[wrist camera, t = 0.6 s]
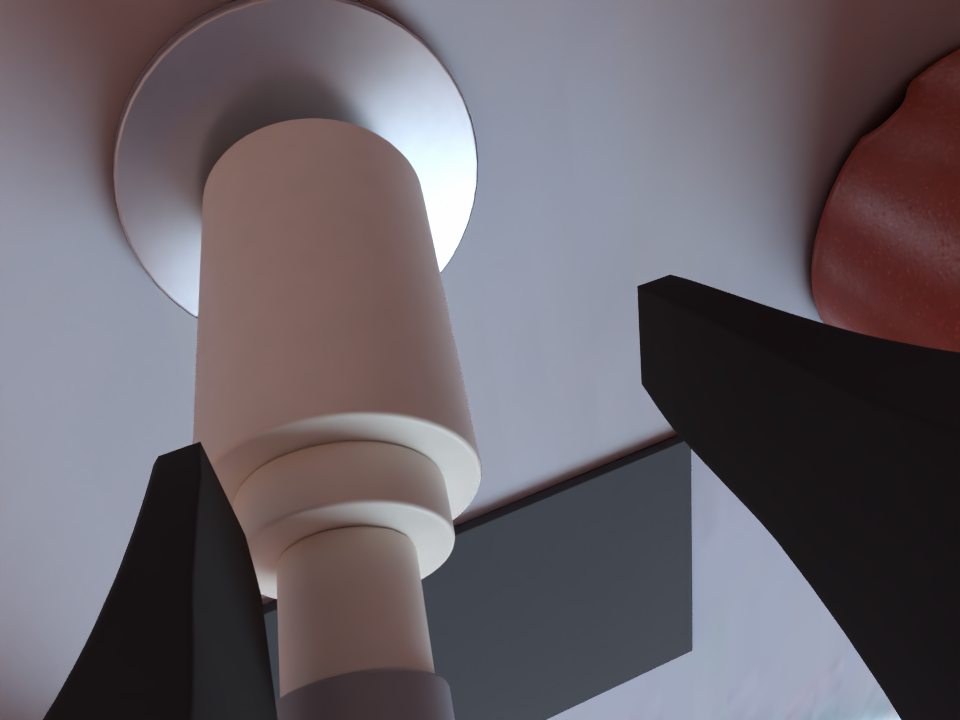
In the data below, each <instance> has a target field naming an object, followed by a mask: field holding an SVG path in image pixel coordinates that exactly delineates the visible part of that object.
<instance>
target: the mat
mask: <svg viewBox="0 0 960 720" xmlns="http://www.w3.org/2000/svg"><path fill="white" fill-rule="evenodd" d="M454 532H455V542H454V546H453V549H452V552H451V554H450V555H449V557H448V558H447V560H446V561H445V562H444V563H443V564H442V565H441V566H440V567H439V568H438V569H436V570H435V571H434V572H433V573H431V574H430V575H428V576H426V577H425V578H423V579H421V583H422V590H423V597H424V603H425V610H426V617H427V624H428V631H429V637H430V644H431V651H432V658H433V665H434V672H435V674H437V675H439V676H441V677H443V678H444V679H445V680H446V681H447V683H448V685H449V686H450V692H451V698H452V705H453V711H454V718H455V720H546V719H548V718H551V717H553V716H555V715H557V714H559V713H561V712H563V711H565V710H567V709H570V708H572V707H574V706H576V705H578V704H580V703H582V702H584V701H586V700H589V699H591V698H593V697H595V696H597V695H599V694H601V693H603V692H605V691H608V690H610V689H612V688H614V687H616V686H618V685H620V684H622V683H624V682H627V681H629V680H631V679H633V678H635V677H637V676H639V675H641V674H643V673H646V672H648V671H650V670H652V669H654V668H656V667H658V666H660V665H663V664H665V663H667V662H669V661H671V660H673V659H675V658H677V657H679V656H682V655H684V654H686V653H688V652H690V651H692V531H691V448H690V447H689V446H688V444H687V443H686V442H685V441H684V440H683V439H682V438H681V437H680V436H679V435H678V436H676V437H673V438H671V439H668V440H666V441H663V442H661V443H658V444H656V445H654V446H651V447H649V448H646V449H644V450H641V451H639V452H637V453H634V454H632V455H629V456H627V457H624V458H622V459H619V460H617V461H615V462H612V463H610V464H607V465H605V466H602V467H600V468H598V469H595V470H593V471H590V472H588V473H585V474H583V475H580V476H578V477H576V478H573V479H571V480H568V481H566V482H563V483H561V484H559V485H556V486H554V487H551V488H549V489H546V490H544V491H541V492H539V493H537V494H534V495H532V496H529V497H527V498H524V499H522V500H520V501H517V502H515V503H512V504H510V505H507V506H505V507H502V508H500V509H498V510H495V511H493V512H490V513H488V514H485V515H483V516H481V517H478V518H476V519H473V520H471V521H468V522H466V523H463V524H461V525H459V526H456V527H454ZM263 612H264V619H265V627H266V634H267V641H268V649H269V657H270V664H271V672H272V680H273V687H274V695H275V702H276V701H277V700H278V699H279V698H280V677H279V645H278V613H277V600H276V601H273V602H271V603H268V604H266V605H264V606H263Z"/></svg>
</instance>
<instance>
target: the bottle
mask: <svg viewBox="0 0 960 720" xmlns="http://www.w3.org/2000/svg"><path fill="white" fill-rule="evenodd" d="M198 442H201V444H202V446H203V448H204V450H205V452H206V454H207V456H208V458H209V461H210V463H211V465H212V467H213V469H214V471H215V473H216V475H217V477H218V479H219V481H220V483H221V486H222V488H223V490H224V492H225V494H226V496H227V498H228V500H229V502H230V504H231V506H232V508H233V510H234V513H235V515H236V517H237V519H238V521H239V523H240V525H241V527H242V529H243V531H244V533H245V535H246V539H247V543H248V546H249V550H250V554H251V558H252V561H253V565H254V569H255V573H256V577H257V580H258V584H259V588H260V592H261V594H262V595H265V596H267V597H270V598H274V599H277V613H278V645H279V677H280V698H279V699H278V700H277V701H276V702H275V703H276V710H277V718H278V720H455V718H454V711H453V705H452V698H451V692H450V686H449V685H448V683H447V681H446V680H445V679H444V678H443V677H441V676H439V675H437V674H435V672H434V665H433V658H432V651H431V644H430V637H429V631H428V624H427V617H426V610H425V603H424V597H423V590H422V583H421V579H423V578H425V577H426V576H428V575H430V574H431V573H433V572H434V571H435V570H436V569H438V568H439V567H440V566H441V565H442V564H443V563H444V562H445V561H446V560H447V558H448V557H449V555H450V554H451V552H452V549H453V546H454V542H455V532H454V526H453V520H454V519H455V518H456V517H458V516H459V515H460V514H461V513H462V512H463V511H464V510H465V509H466V508H467V507H468V505H469V504H470V503H471V501H472V500H473V498H474V497H475V495H476V492H477V490H478V488H479V484H480V480H481V475H482V473H481V462H480V457H479V452H478V448H477V443H476V438H475V434H474V429H473V424H472V420H471V415H470V410H469V406H468V401H467V396H466V392H465V387H464V382H463V378H462V373H461V368H460V364H459V359H458V354H457V350H456V345H455V340H454V336H453V331H452V326H451V322H450V317H449V312H448V308H447V303H446V298H445V294H444V289H443V284H442V280H441V275H440V270H439V266H438V261H437V256H436V252H435V247H434V242H433V238H432V233H431V228H430V224H429V219H428V214H427V210H426V205H425V200H424V196H423V191H422V188H421V184H420V181H419V178H418V176H417V174H416V172H415V170H414V168H413V167H412V165H411V164H410V162H409V161H408V160H407V158H406V157H405V156H404V155H403V154H402V153H401V152H400V151H399V150H398V149H397V148H396V147H395V146H393V145H392V144H391V143H390V142H389V141H387V140H385V139H384V138H382V137H381V136H379V135H378V134H376V133H374V132H372V131H370V130H367V129H365V128H363V127H360V126H357V125H354V124H351V123H347V122H342V121H338V120H331V119H321V118H305V119H296V120H288V121H284V122H279V123H275V124H272V125H269V126H266V127H264V128H261V129H258V130H256V131H254V132H253V133H251V134H249V135H247V136H245V137H244V138H242V139H241V140H239V141H238V142H236V143H235V144H234V145H233V146H231V147H230V148H229V149H228V150H227V151H226V152H225V153H224V154H223V155H222V156H221V158H220V159H219V160H218V161H217V163H216V164H215V165H214V167H213V169H212V171H211V172H210V174H209V176H208V179H207V182H206V185H205V188H204V194H203V205H202V230H201V255H200V280H199V305H198V330H197V355H196V380H195V405H194V430H193V444H195V443H198Z"/></svg>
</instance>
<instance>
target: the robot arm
mask: <svg viewBox="0 0 960 720" xmlns="http://www.w3.org/2000/svg"><path fill="white" fill-rule="evenodd" d="M638 309H639V332H640V356H641V379H642V385H643V386H644V388H645V389H646V391H647V392H648V394H649V395H650V397H651V398H652V400H653V401H654V403H655V404H656V406H657V407H658V409H659V410H660V411H661V413H662V414H663V415H664V417H665V418H666V420H667V421H668V422H669V424H670V425H671V426H672V428H673V429H674V430H675V431H676V432H677V434H678V435H679V436H680V437H681V438H682V439H683V440H684V441H685V442H686V443H687V444H688V446H689V447H690V448H691V449H692V450H693V451H694V452H695V453H696V454H697V455H698V456H699V457H700V458H701V460H702V461H703V462H704V463H705V464H706V465H707V466H708V467H709V468H710V469H711V470H712V471H713V472H714V473H715V474H716V475H717V476H718V477H719V479H720V480H721V481H722V482H723V483H724V484H725V485H726V486H727V487H728V488H729V489H730V490H731V491H732V492H733V493H734V494H735V495H736V496H737V497H738V499H739V500H740V501H741V502H742V503H743V504H744V505H745V506H746V507H747V508H748V509H749V510H750V511H751V512H752V513H753V514H754V515H755V516H756V518H757V519H758V520H759V521H760V522H761V523H762V524H763V525H764V527H765V528H766V529H767V530H768V531H769V532H770V533H771V535H772V536H773V537H774V538H775V539H776V541H777V542H778V543H779V544H780V546H781V547H782V548H783V550H784V551H785V552H786V554H787V555H788V556H789V558H790V559H791V560H792V561H793V563H794V564H795V565H796V567H797V568H798V569H799V571H800V572H801V573H802V575H803V576H804V577H805V579H806V580H807V581H808V583H809V584H810V585H811V587H812V588H813V589H814V591H815V592H816V594H817V595H818V596H819V598H820V599H821V601H822V602H823V603H824V605H825V606H826V608H827V609H828V610H829V612H830V613H831V614H832V616H833V617H834V619H835V620H836V621H837V623H838V624H839V626H840V627H841V628H842V630H843V631H844V633H845V634H846V636H847V637H848V639H849V640H850V642H851V643H852V645H853V646H854V648H855V649H856V651H857V652H858V653H859V655H860V656H861V658H862V659H863V661H864V662H865V664H866V665H867V667H868V668H869V670H870V671H871V673H872V674H873V676H874V677H875V679H876V680H877V682H878V683H879V685H880V686H881V688H882V689H883V691H884V692H885V694H886V696H887V697H888V699H889V700H890V702H891V704H892V705H893V707H894V708H895V710H896V712H897V713H898V715H899V717H900V718H901V720H960V352H954V351H947V350H941V349H935V348H929V347H923V346H918V345H913V344H908V343H903V342H898V341H893V340H888V339H883V338H878V337H874V336H870V335H865V334H861V333H857V332H853V331H850V330H846V329H842V328H839V327H835V326H831V325H828V324H824V323H820V322H817V321H813V320H810V319H807V318H803V317H800V316H797V315H794V314H790V313H787V312H784V311H781V310H778V309H775V308H772V307H769V306H766V305H763V304H760V303H757V302H754V301H751V300H748V299H745V298H742V297H739V296H736V295H733V294H730V293H727V292H724V291H721V290H718V289H715V288H712V287H709V286H706V285H703V284H700V283H697V282H694V281H691V280H688V279H684V278H681V277H677V276H673V275H668V276H665V277H662V278H660V279H657V280H654V281H651V282H648V283H646V284H643V285H640V286H638ZM43 720H278V718H277V710H276V703H275V695H274V687H273V680H272V672H271V664H270V657H269V649H268V641H267V634H266V627H265V619H264V612H263V605H262V598H261V592H260V588H259V584H258V580H257V577H256V573H255V569H254V565H253V561H252V558H251V554H250V550H249V546H248V543H247V539H246V535H245V533H244V531H243V529H242V527H241V525H240V523H239V521H238V519H237V517H236V515H235V513H234V510H233V508H232V506H231V504H230V502H229V500H228V498H227V496H226V494H225V492H224V490H223V488H222V486H221V483H220V481H219V479H218V477H217V475H216V473H215V471H214V469H213V467H212V465H211V463H210V461H209V458H208V456H207V454H206V452H205V450H204V448H203V446H202V444H201V442H198V443H195V444H192V445H189V446H186V447H184V448H181V449H178V450H175V451H172V452H169V453H167V454H164V455H161V456H158V458H157V460H156V462H155V463H154V465H153V469H152V473H151V476H150V480H149V483H148V487H147V490H146V493H145V497H144V500H143V503H142V506H141V509H140V512H139V515H138V518H137V521H136V524H135V527H134V530H133V533H132V536H131V538H130V541H129V544H128V546H127V549H126V552H125V555H124V557H123V560H122V563H121V565H120V568H119V570H118V573H117V575H116V578H115V580H114V583H113V585H112V587H111V589H110V592H109V594H108V596H107V598H106V601H105V603H104V605H103V607H102V610H101V612H100V614H99V616H98V619H97V621H96V623H95V626H94V628H93V630H92V632H91V634H90V636H89V638H88V640H87V642H86V644H85V646H84V648H83V650H82V652H81V654H80V656H79V658H78V659H77V661H76V663H75V665H74V667H73V669H72V671H71V672H70V674H69V676H68V678H67V680H66V681H65V683H64V685H63V687H62V689H61V691H60V692H59V694H58V696H57V697H56V699H55V701H54V702H53V704H52V706H51V707H50V709H49V711H48V712H47V714H46V715H45V717H44V719H43Z"/></svg>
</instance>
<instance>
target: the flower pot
mask: <svg viewBox="0 0 960 720" xmlns="http://www.w3.org/2000/svg"><path fill="white" fill-rule="evenodd" d="M812 290H813V296H814V301H815V305H816V308H817V311H818V313H819V316H820V318H821V320H822V321H823V322H824V323H825V324H828V325H831V326H835V327H839V328H842V329H846V330H850V331H853V332H857V333H861V334H865V335H870V336H874V337H878V338H883V339H888V340H893V341H898V342H903V343H908V344H913V345H918V346H923V347H929V348H935V349H941V350H947V351H954V352H960V49H958V50H957V51H955V52H953V53H951V54H950V55H948V56H946V57H944V58H943V59H941V60H939V61H938V62H937V63H935V64H934V65H932V66H931V67H929V68H928V69H927V70H925V71H924V72H923V73H922V74H920V75H919V76H918V77H916V78H915V79H914V80H912V82H911V83H910V85H909V86H908V87H907V93H906V97H905V100H904V102H903V103H902V105H901V106H900V107H899V108H898V110H897V111H896V112H895V113H894V114H893V115H892V116H891V117H890V118H889V119H888V120H887V121H885V122H884V123H883V124H882V125H881V126H879V127H878V128H876V129H875V130H874V131H872V132H871V133H869V134H867V135H865V136H863V137H862V138H861V139H860V140H859V142H858V143H857V144H856V146H855V148H854V149H853V151H852V152H851V154H850V156H849V157H848V159H847V160H846V162H845V164H844V166H843V168H842V169H841V171H840V173H839V175H838V177H837V179H836V181H835V183H834V185H833V187H832V189H831V192H830V194H829V197H828V199H827V202H826V205H825V207H824V211H823V214H822V217H821V220H820V223H819V227H818V231H817V235H816V239H815V244H814V250H813V257H812Z"/></svg>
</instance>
